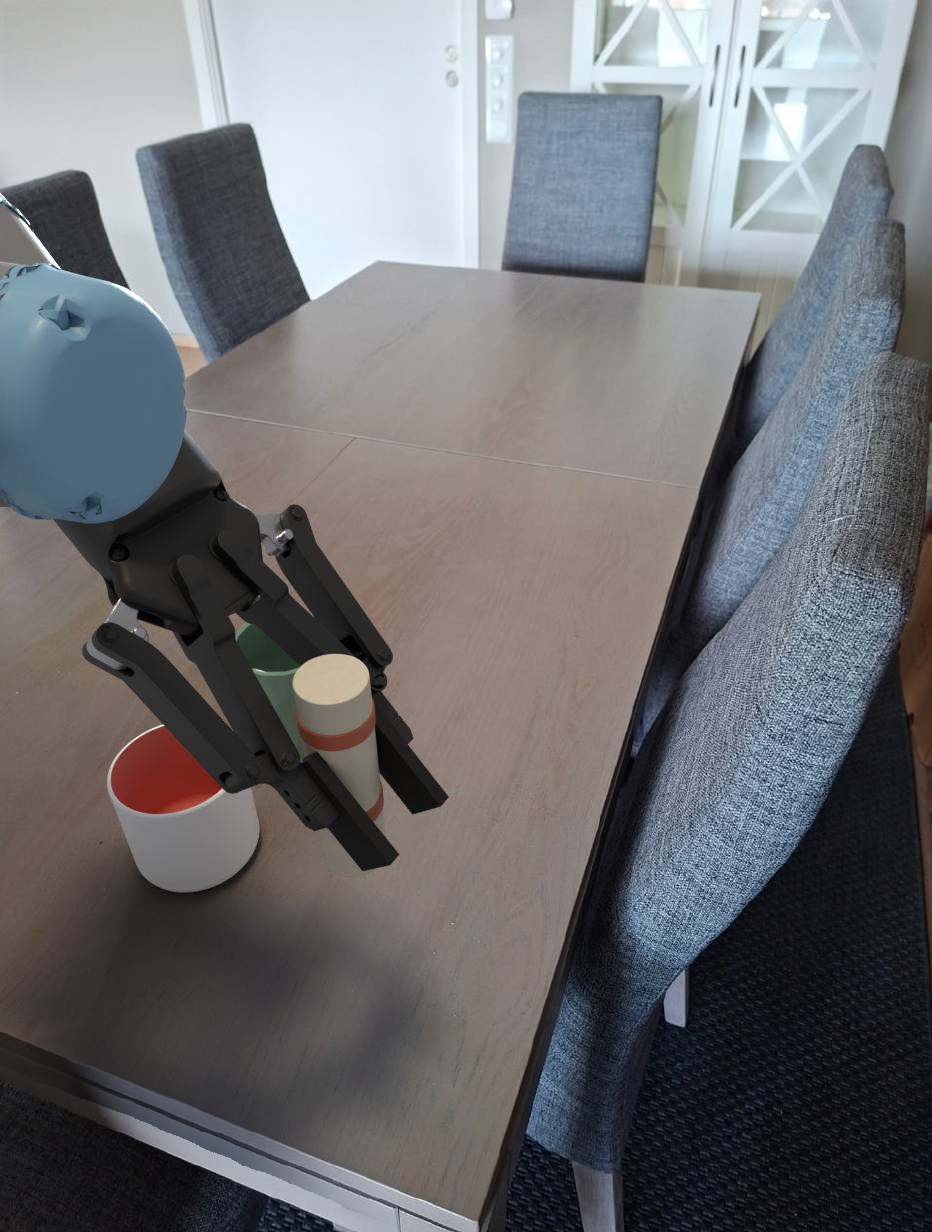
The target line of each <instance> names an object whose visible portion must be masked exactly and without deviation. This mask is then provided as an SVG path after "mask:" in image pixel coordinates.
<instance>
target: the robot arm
mask: <svg viewBox="0 0 932 1232" xmlns="http://www.w3.org/2000/svg"><path fill="white" fill-rule="evenodd" d="M185 380H186V374H185V369H184V365H183V361H182V357H181V354H180V351H179V349H178V347H177V344H176V342H175V339H174V338H173V336H172V334H171V332H170V330H169V329H168V327H167V325H166V324H165V322H164V320H163V319H162V318H161V317H160V315H159V314H158V313H156V311H155V310H154V309H153V308H152V307H151V306H150V305H149V304H148V303H147V302H145V301H144V300H143V299H142V298H141V297H140V296H138V295H137V294H135V293H134V292H133V291H131V290H129V289H128V288H126V287H125V286H122V285H119V284H117V283H114V282H111V281H108V280H103V279H100V278H95V277H91V276H86V275H82V274H78V273H74V272H71V271H67V270H63V269H62V268H61V267H60V266H59V265H58V263H57V262H56V261H55V259H54V258H53V257H52V255H51V254H50V253H49V251H48V250H47V248H46V247H45V246H44V245H43V243H42V242H41V240H40V239H39V238H38V237H37V235H36V234H35V230H34V228H33V227H32V226H31V224H30V222H29V220H28V219H27V218H26V216H25V215H24V214H23V213H22V211H20V209H18V207H16V206H15V205H13V204H11V203H10V202H9V201H8V199H6V197H5V196H4V195H3V194H2V193H1V192H0V508H11V509H12V511H13V512H15V513H17V514H19V515H20V516H22V517H26V518H28V519H33V520H36V521H37V520H38V521H39V520H46V521H51V520H52V521H54V523H55V524H56V525H57V527H58V528H59V529H60V530H61V532H62V533H63V534H64V535H65V536H66V538H67V539H68V540H69V542H70V543H71V544H72V545H73V547H74V548H75V549H76V550H77V551H78V553H79V554H80V555H81V556H82V557H83V558H84V560H85V561H86V562H87V563H88V565H89V566H91V568H93V569H94V570H95V571H96V572H97V573H99V575H100V576H101V578H102V579H103V581H104V584H105V586H106V591H107V597H108V600H109V603H110V604H111V606H112V608H111V609H110V611H109V612H108V614H107V615H106V617H105V618H104V620H103V621H102V623H101V625H100V626H99V627H97V628H96V630H95V631H94V632H93V633H92V634H91V635H90V636H89V638H88V639H87V640H86V641H85V642H84V643H83V645H82V647H81V654H82V656H83V658H84V659H85V660H86V661H87V662H88V663H89V664H91V665H93V666H95V667H97V668H98V669H100V670H102V671H104V672H106V673H108V674H109V675H112V676H114V677H116V678H117V679H119V680H121V681H123V682H124V684H125V685H126V686H127V687H128V688H129V689H130V691H132V692H133V694H135V696H136V697H137V698H138V699H139V700H140V701H141V702H142V703H143V704H144V705H145V707H147V709H148V710H149V711H150V712H151V713H152V714H153V715H154V716H155V717H156V718H157V720H158V721H160V723H161V725H164V726H165V727H166V728H167V729H168V730H169V731H170V732H171V733H172V734H173V736H174V737H175V738H176V739H177V740H178V741H179V742H180V743H181V744H182V745H183V746H184V747H185V749H186V750H187V751H188V752H189V753H190V754H191V755H192V756H193V757H194V758H195V759H196V760H197V762H198V763H199V764H200V765H201V766H202V767H203V768H204V769H205V770H206V771H207V772H208V773H209V775H210V776H211V777H212V778H213V779H214V780H215V781H216V782H217V783H218V784H219V785H220V786H221V788H222V789H223V790H224V791H226V792H227V793H231V794H235V793H238V792H240V791H243V790H245V789H248V788H251V789H252V788H253V787H255V786H258V785H262V784H263V785H268V786H270V787H272V788H273V789H274V790H275V791H276V792H277V793H278V794H279V796H280V797H281V798H282V799H283V801H284V802H285V804H287V805H288V807H289V808H290V809H291V810H292V811H293V813H294V814H295V816H296V817H297V818H298V819H299V821H300V822H301V823H302V824H303V825H304V826H305V827H306V828H308V829H309V830H311V831H313V832H318V830H321V829H324V828H328V829H329V831H330V832H331V833H332V834H333V836H334V837H335V838H336V839H337V841H338V842H339V843H340V844H341V845H342V847H343V848H344V849H345V850H346V852H347V853H348V854H349V855H350V857H351V858H352V859H353V860H354V862H355V863H356V864H357V865H358V867H359V868H360V869H361V870H362V871H366V870H371V869H375V870H376V869H380V868H385V867H390V866H391V865H392V864H393V863H394V862H395V861H396V860H397V858H398V857H399V856H400V853H399V852H398V851H397V849H396V848H395V847H394V845H392V843H391V842H390V841H389V840H388V838H387V836H386V837H385V836H384V834H383V833H382V832H381V831H380V829H379V828H378V827H377V826H376V824H375V823H374V822H373V821H372V819H371V818H370V817H369V816H368V814H367V813H366V812H365V811H364V809H363V808H362V807H361V806H360V804H359V803H358V802H357V801H356V799H355V798H354V797H353V796H352V794H351V793H350V792H349V791H348V789H347V788H346V787H345V786H344V784H343V783H342V782H341V781H340V779H339V778H338V777H337V776H336V774H335V773H334V772H333V771H332V769H331V768H330V767H329V765H328V764H327V763H326V762H325V760H324V759H323V758H322V757H321V755H320V754H319V753H318V752H315V753H313V754H311V755H308V756H306V757H304V758H302V759H300V755H299V752H298V750H297V748H296V747H295V745H294V743H293V741H292V740H291V738H290V736H289V734H288V732H287V731H286V729H285V727H284V725H283V723H282V722H281V720H280V718H279V716H278V715H277V713H276V711H275V709H274V707H273V706H272V704H271V702H270V700H269V698H268V697H267V695H266V693H265V691H264V690H263V688H262V686H261V684H260V682H259V681H258V679H257V677H256V675H255V673H254V672H253V670H252V668H251V666H250V665H249V663H248V661H247V659H246V657H245V656H244V654H243V652H242V650H241V648H240V647H239V645H238V643H237V641H236V638H235V633H236V632H237V631H236V628H235V625H234V624H233V621H232V620H231V617H230V616H232V615H234V614H236V615H237V616H238V617H240V619H242V620H243V621H244V622H245V623H249V624H254V625H256V626H258V627H259V628H260V629H261V630H262V631H263V632H264V633H265V634H266V635H267V636H269V637H270V638H271V639H272V640H273V641H274V642H275V643H276V644H277V645H278V646H279V647H280V648H282V649H283V650H284V651H285V652H286V653H287V654H288V655H289V656H290V657H291V658H292V659H294V660H295V661H296V662H297V663H298V664H299V665H300V666H302V665H303V664H304V663H306V662H307V661H309V660H311V659H313V658H315V657H319V656H322V655H327V654H344V655H349V656H352V657H354V658H357V659H358V660H360V661H361V662H362V663H363V664H364V665H365V666H366V667H367V669H368V671H369V676H370V686H371V696H372V699H373V701H374V705H375V715H376V724H375V735H376V745H377V755H378V765H379V775H380V776H381V777H382V778H383V779H384V781H385V782H386V783H387V784H388V786H389V787H390V789H391V790H392V791H393V792H394V793H395V795H396V796H397V797H398V798H399V800H400V801H401V802H402V803H403V804H404V806H405V807H406V809H407V810H408V811H409V812H410V813H411V815H416V814H420V813H423V812H427V811H431V810H434V809H437V808H441V807H442V806H443V805H444V804H445V803H446V801H447V800H448V799H450V796H449V795H448V794H447V793H446V791H445V790H444V789H443V787H442V786H441V785H440V783H439V782H438V781H437V780H436V778H435V777H434V776H433V775H432V773H431V772H430V770H429V769H428V768H427V767H426V766H425V764H424V763H423V762H422V761H421V759H420V758H419V757H418V755H417V754H416V753H415V751H414V750H413V749H412V747H411V746H410V745H409V744H411V742H412V741H413V740H414V739H415V738H414V735H413V733H412V730H411V727H409V725H408V724H407V723H406V721H405V720H404V719H403V717H402V716H401V715H400V714H399V712H398V711H397V709H396V708H395V707H394V706H393V705H392V703H391V702H390V701H389V700H388V698H387V697H386V696H385V694H384V693H383V691H384V690H385V689H386V688H387V686H388V677H387V674H385V670H386V668H387V667H388V666H389V665H391V663H392V662H393V659H394V654H393V651H392V649H391V648H390V646H389V645H388V643H387V642H386V640H385V639H384V637H383V636H382V635H381V633H380V632H379V630H378V629H377V628H376V626H375V625H374V624H373V622H372V620H371V619H370V618H369V616H368V614H367V613H366V611H364V609H363V608H362V606H361V605H360V603H359V601H358V600H357V599H356V598H355V596H354V595H353V593H352V592H351V590H350V588H349V587H348V586H347V584H346V583H345V581H344V580H343V578H342V577H340V574H339V573H338V572H337V570H336V569H335V567H334V566H333V565H332V563H331V562H330V561H329V558H328V557H327V556H326V555H325V553H324V551H323V550H322V549H321V547H320V546H319V545H318V543H317V541H316V537H315V534H314V532H313V529H312V527H311V523H310V520H309V517H308V514H307V512H306V509H304V508H303V507H302V506H301V505H299V504H290V505H288V506H287V507H286V509H284V510H283V511H282V512H279V513H271V514H270V513H269V514H259V515H256V514H255V513H254V511H252V509H250V508H249V507H247V506H246V505H244V504H242V503H240V502H239V501H237V500H235V499H234V498H233V497H232V496H231V495H230V494H229V492H228V491H227V489H226V487H225V485H224V482H223V479H222V475H221V474H220V472H219V470H218V469H217V468H216V466H215V465H214V464H213V463H212V461H211V460H210V459H209V458H208V456H207V455H206V454H205V452H204V451H203V450H202V448H201V447H200V446H199V445H198V443H197V442H196V441H195V440H194V438H193V437H192V436H191V434H190V433H189V432H188V431H187V429H186V424H187V415H188V411H187V408H186V406H185V398H186V393H187V392H186V390H185ZM262 545H263V547H265V548H264V552H265V554H266V555H267V556H269V557H274V558H275V561H276V563H277V564H278V566H279V569H280V571H281V572H282V574H283V575H284V577H285V578H286V580H287V581H288V582H289V584H290V586H291V587H292V588H293V590H294V591H295V592H296V594H297V595H298V597H299V598H300V599H301V601H302V603H303V604H304V605H305V607H306V608H307V609H308V610H307V609H306V608H305V607H304V606H302V605H301V603H299V601H297V600H296V599H295V598H294V597H293V596H292V595H291V594H290V589H289V586H288V584H287V583H286V581H284V579H282V578H281V577H280V576H279V575H278V574H277V573H276V572H274V571H273V570H272V569H271V567H269V566H268V565H267V564H266V563H265V562H264V555H263V548H262ZM310 613H311V614H312V615H313V616H314V617H313V616H312V615H311V614H310ZM139 621H141V622H143V623H146V624H150V625H152V626H155V627H158V628H161V629H164V630H167V631H170V632H172V634H173V635H174V637H175V639H176V641H177V642H178V644H179V646H180V648H181V650H182V652H183V653H184V655H185V656H186V659H187V660H188V661H189V662H191V663H193V664H194V665H195V666H196V668H197V669H198V670H199V672H200V674H201V676H202V678H203V679H204V681H205V683H206V685H207V686H208V689H209V690H210V692H211V694H212V695H213V697H214V699H215V701H216V703H217V704H218V706H219V708H220V710H221V712H222V713H223V716H224V717H225V719H226V721H227V722H228V724H227V723H226V722H225V720H224V719H223V718H222V717H221V716H220V715H219V714H218V713H217V711H215V709H214V708H213V707H212V706H211V705H210V704H209V703H208V702H207V700H205V699H204V697H203V696H202V695H201V694H200V693H199V691H197V689H196V688H195V687H194V686H193V685H192V684H191V683H190V682H189V680H188V679H186V677H185V676H184V675H183V674H182V673H181V672H180V671H179V670H178V668H177V667H176V666H175V665H174V664H173V663H172V662H171V660H169V659H168V657H166V655H164V654H163V652H161V650H159V649H158V648H157V647H155V646H154V645H153V644H152V643H151V642H149V641H150V636H149V633H148V631H147V630H146V628H145V627H143V626H142V625H141V624H140V622H139Z"/></svg>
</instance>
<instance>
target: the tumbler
mask: <svg viewBox="0 0 932 1232" xmlns="http://www.w3.org/2000/svg"><path fill="white" fill-rule="evenodd" d="M309 613H310V614H311V612H309ZM311 615H312V614H311ZM312 616H313V615H312ZM313 617H314V616H313ZM235 632H236V633H235V638H236V641H237V643H238V645H239V647H240V648H241V650H242V652H243V654H244V656H245V657H246V659H247V661H248V663H249V665H250V666H251V668H252V670H253V672H254V673H255V675H256V677H257V679H258V681H259V682H260V684H261V686H262V688H263V690H264V691H265V693H266V695H267V697H268V698H269V700H270V702H271V704H272V706H273V707H274V709H275V711H276V713H277V715H278V716H279V718H280V720H281V722H282V723H283V725H284V727H285V729H286V731H287V732H288V734H289V736H290V738H291V740H292V741H293V743H294V745H295V747H296V748H297V750H298V752H299V755H300V759H302V758H304V757H305V754H304V748H303V742H302V738H301V736H300V734H299V731H298V726H297V721H296V709H297V708H296V703H295V697H294V691H293V685H292V682H293V677H294V675H295V673H296V671H297V670H298V669H299V668H300V667H301V666H300V665H299V664H298V663H297V662H296V661H295V660H294V659H292V658H291V657H290V656H289V655H288V654H287V653H286V652H285V651H284V650H283V649H282V648H280V647H279V646H278V645H277V644H276V643H275V642H274V641H273V640H272V639H271V638H270V637H269V636H267V635H266V634H265V633H264V632H263V631H262V630H261V629H260V628H259V627H258V626H256V625H254V624H249V623H247V622H245V623H244V624H243V625H242V626H241V627H240V628H239V629H238V630H237V631H235Z"/></svg>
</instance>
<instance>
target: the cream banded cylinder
mask: <svg viewBox="0 0 932 1232" xmlns="http://www.w3.org/2000/svg"><path fill="white" fill-rule="evenodd" d="M292 685H293V691H294V697H295V703H296V708H297V709H296V721H297V726H298V731H299V734H300V736H301V738H302V742H303V748H304V754H305V757H306V756H308V755H311V754H313V753H315V752H318V753H319V754H320V755H321V757H322V758H323V759H324V760H325V762H326V763H327V764H328V765H329V767H330V768H331V769H332V771H333V772H334V773H335V774H336V776H337V777H338V778H339V779H340V781H341V782H342V783H343V784H344V786H345V787H346V788H347V789H348V791H349V792H350V793H351V794H352V796H353V797H354V798H355V799H356V801H357V802H358V803H359V804H360V806H361V807H362V808H363V809H364V811H365V812H366V813H367V814H368V816H369V817H370V818H371V819H372V821H373V822H374V823H375V824H376V826H377V827H378V828H379V829H380V831H381V832H382V833H383V834H384V836H385V837H386V838H387V835H386V827H385V814H384V805H385V797H384V786H383V782H382V780H381V774H380V773H379V765H378V755H377V745H376V735H375V724H376V715H375V705H374V701H373V699H372V696H371V686H370V676H369V671H368V669H367V667H366V666H365V665H364V664H363V663H362V662H361V661H360V660H358V659H357V658H354V657H352V656H349V655H344V654H327V655H322V656H319V657H315V658H313V659H311V660H309V661H307V662H306V663H304V664H303V665H302V666H301V667H300V668H299V669H298V670H297V671H296V673H295V675H294V677H293V682H292ZM317 832H318V839H319V845H320V850H321V855H322V861H323V863H324V865H325V866H326V867H327V869H329V871H330V872H332V873H334V874H335V875H337V876H339V877H343V878H351V879H352V878H360V877H363V876H366V875H369V874H370V873H373V872H374V871H375V870H376V869H371V870H366V871H362V870H361V869H360V868H359V867H358V865H357V864H356V863H355V862H354V860H353V859H352V858H351V857H350V855H349V854H348V853H347V852H346V850H345V849H344V848H343V847H342V845H341V844H340V843H339V842H338V841H337V839H336V838H335V837H334V836H333V834H332V833H331V832H330V831H329V829H328V828H324V829H321V830H317Z"/></svg>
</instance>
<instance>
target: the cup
mask: <svg viewBox="0 0 932 1232" xmlns="http://www.w3.org/2000/svg"><path fill="white" fill-rule="evenodd" d="M106 789H107V793H108V795H109V799H110V801H111V803H112V806H113V809H114V811H115V813H116V816H117V818H118V821H119V824H120V827H121V830H122V831H123V834H124V836H125V840H126V842H127V844H128V847H129V849H130V853H131V855H132V858H133V860H134V863H135V865H136V867H137V869H138V871H139V872H140V874H141V875H142V876H143V878H144V879H146V880H147V881H148V882H149V883H150V884H152V885H154V886H155V887H158V888H159V889H162V890H165V891H168V892H172V893H173V892H174V893H185V894H186V893H194V892H201V891H204V890H209V889H211V888H214V887H216V886H219V885H221V884H223V883H225V882H226V881H228V880H229V879H231V878H232V877H234V876H235V875H236V874H237V873H239V872H240V871H241V870H242V869H243V868H244V866H245V865H246V864H247V863H248V862H249V860H250V859H251V857H252V856H253V854H254V852H255V850H256V848H257V845H258V842H259V837H260V821H259V816H258V811H257V808H256V803H255V800H254V796H253V791H252V787H251V788H248V789H245V790H243V791H240V792H238V793H235V794H231V793H227V792H226V791H224V790H223V789H222V788H221V786H220V785H219V784H218V783H217V782H216V781H215V780H214V779H213V778H212V777H211V776H210V775H209V773H208V772H207V771H206V770H205V769H204V768H203V767H202V766H201V765H200V764H199V763H198V762H197V760H196V759H195V758H194V757H193V756H192V755H191V754H190V753H189V752H188V751H187V750H186V749H185V747H184V746H183V745H182V744H181V743H180V742H179V741H178V740H177V739H176V738H175V737H174V736H173V734H172V733H171V732H170V731H169V730H168V729H167V728H166V727H165V726H164V725H163V724H160V725H157V726H155V727H153V728H150V729H148V730H146V731H144V732H142V733H141V734H139V735H138V736H137V737H135V738H133V739H131V741H129V742H127V744H126V745H125V746H124V747H122V749H121V750H120V751H119V752H118V753H117V755H115V757H114V759H113V760H112V762H111V764H110V767H109V770H108V773H107V777H106Z"/></svg>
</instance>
